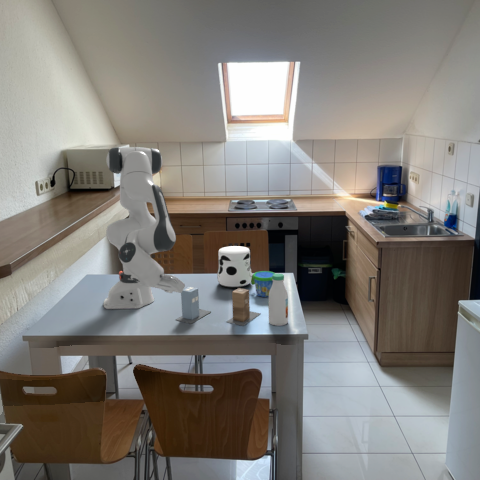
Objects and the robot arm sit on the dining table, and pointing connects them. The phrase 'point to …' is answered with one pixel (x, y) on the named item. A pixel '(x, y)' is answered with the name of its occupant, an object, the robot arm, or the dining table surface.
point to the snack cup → (262, 282)
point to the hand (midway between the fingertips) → (169, 291)
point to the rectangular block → (190, 303)
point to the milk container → (234, 267)
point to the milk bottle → (278, 301)
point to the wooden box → (240, 304)
